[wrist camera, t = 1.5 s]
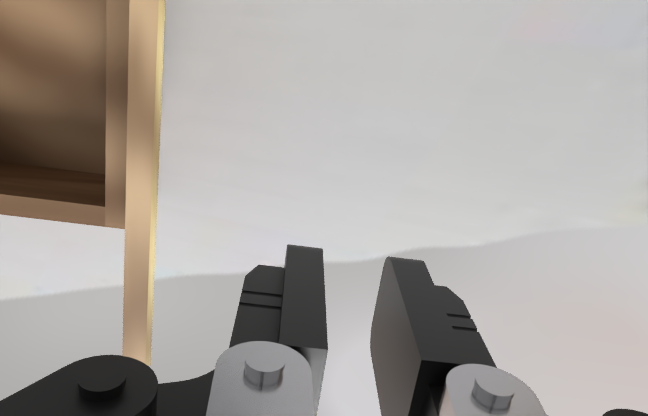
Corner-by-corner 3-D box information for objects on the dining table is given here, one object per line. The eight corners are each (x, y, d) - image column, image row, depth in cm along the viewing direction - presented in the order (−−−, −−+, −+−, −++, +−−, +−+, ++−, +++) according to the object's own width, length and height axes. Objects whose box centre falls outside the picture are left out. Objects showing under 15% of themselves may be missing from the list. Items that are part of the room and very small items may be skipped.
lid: (132, -142, 15) (171, -133, 15) (138, -95, 25) (161, -91, 26) (122, 374, 21) (150, 372, 21) (130, 237, 31) (149, 237, 32)
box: (-61, -109, 31) (-145, -132, 25) (165, -73, 31) (133, -88, 26) (-37, 170, 36) (-101, 202, 30) (154, 193, 37) (126, 229, 31)
